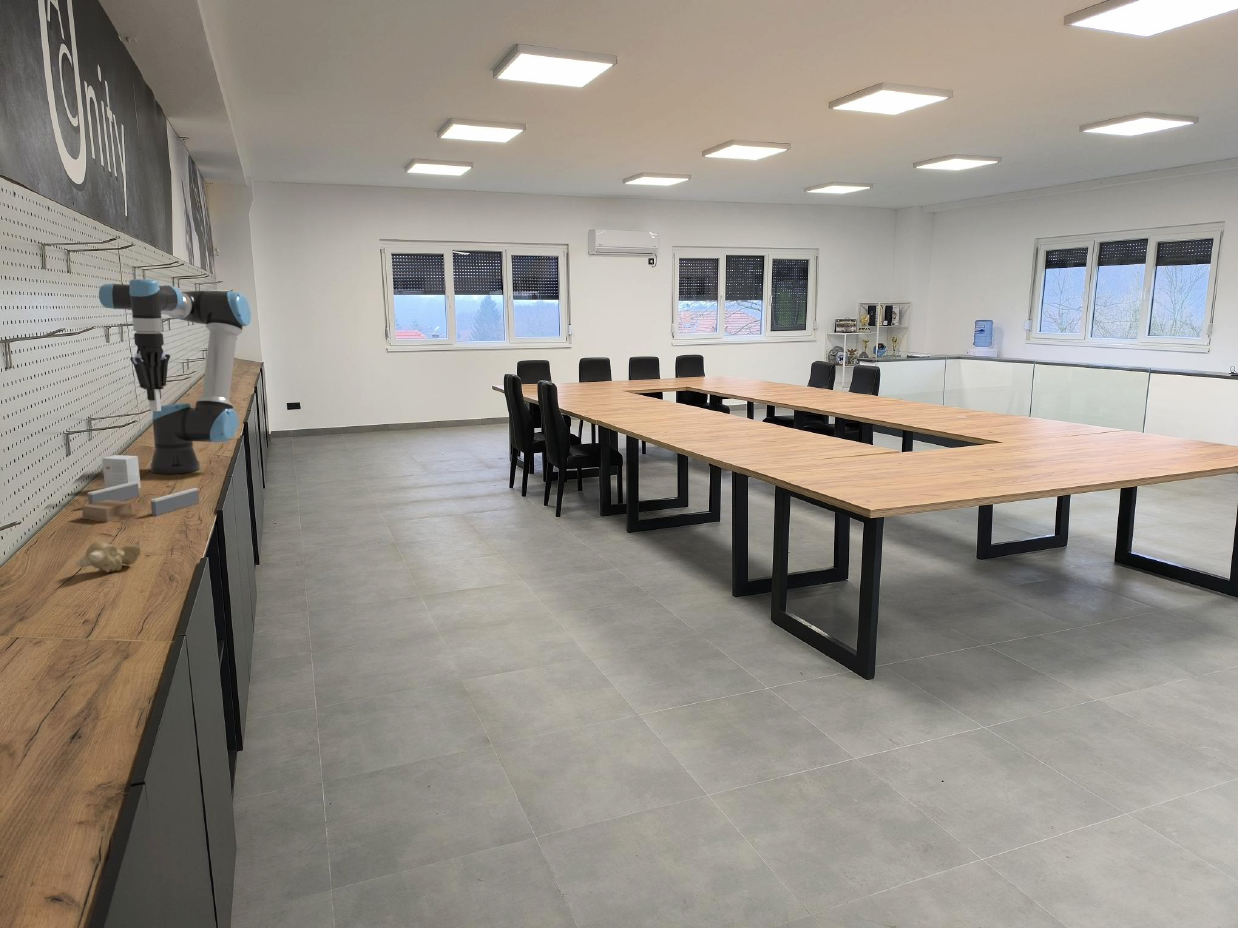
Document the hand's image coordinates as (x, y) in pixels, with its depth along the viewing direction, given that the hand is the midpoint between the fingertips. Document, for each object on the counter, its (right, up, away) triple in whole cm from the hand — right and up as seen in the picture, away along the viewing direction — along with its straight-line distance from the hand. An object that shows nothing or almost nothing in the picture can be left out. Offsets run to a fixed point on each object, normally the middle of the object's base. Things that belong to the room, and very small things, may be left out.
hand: (155, 410), depth 244 cm
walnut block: (+1, -31, -24) cm, 39 cm away
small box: (-14, -25, +7) cm, 29 cm away
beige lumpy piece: (+28, -40, -65) cm, 81 cm away
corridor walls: (+3, -28, -11) cm, 30 cm away
